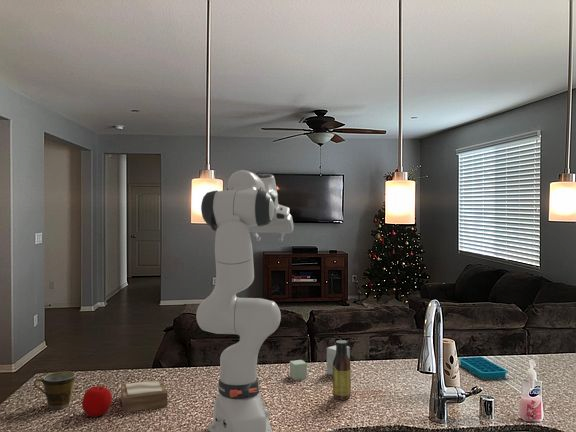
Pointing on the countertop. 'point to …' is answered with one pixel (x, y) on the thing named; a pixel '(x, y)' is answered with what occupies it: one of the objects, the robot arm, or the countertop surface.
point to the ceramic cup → (58, 388)
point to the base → (143, 395)
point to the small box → (330, 358)
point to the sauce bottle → (341, 372)
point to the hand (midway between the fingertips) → (269, 240)
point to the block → (298, 369)
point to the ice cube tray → (483, 367)
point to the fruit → (96, 401)
